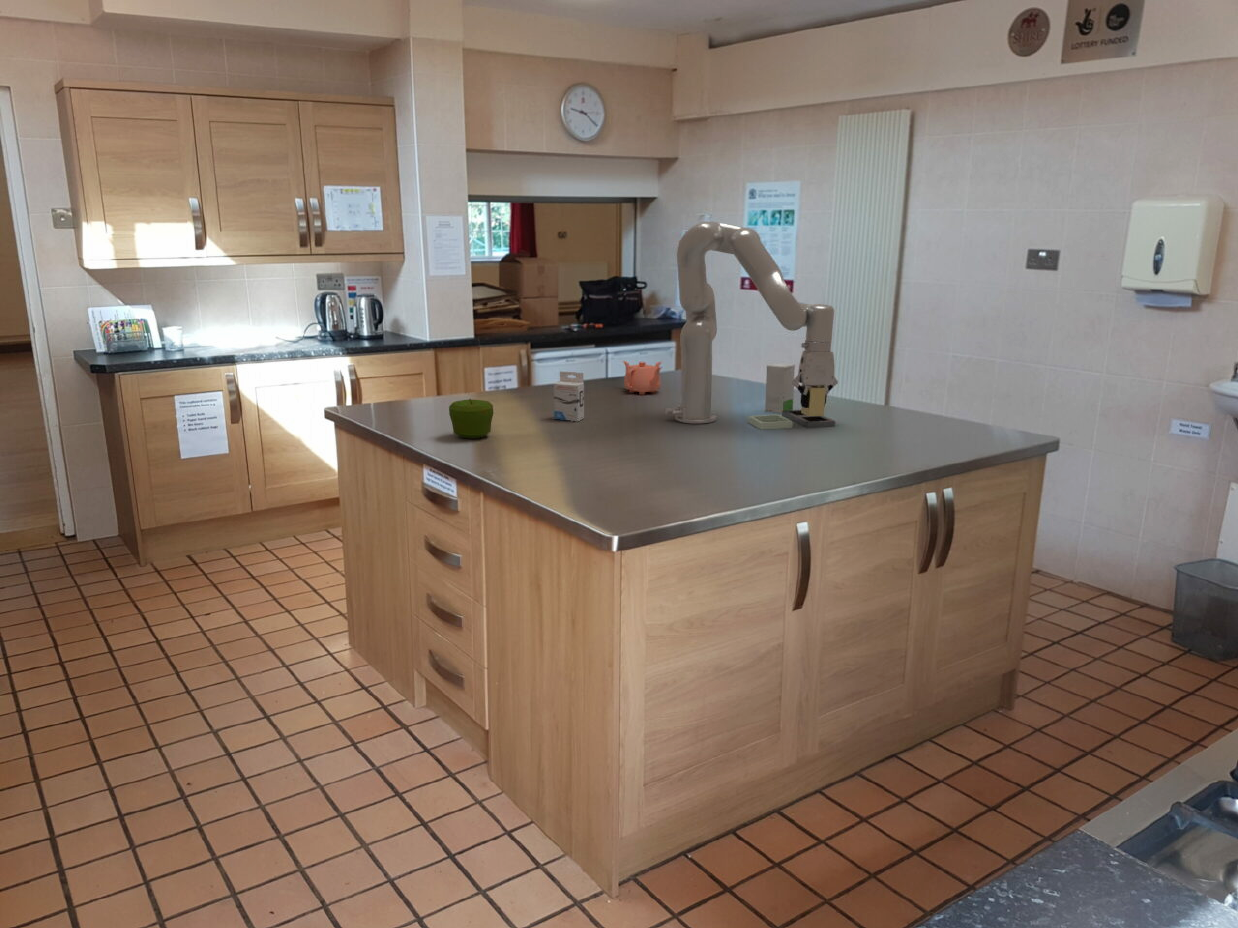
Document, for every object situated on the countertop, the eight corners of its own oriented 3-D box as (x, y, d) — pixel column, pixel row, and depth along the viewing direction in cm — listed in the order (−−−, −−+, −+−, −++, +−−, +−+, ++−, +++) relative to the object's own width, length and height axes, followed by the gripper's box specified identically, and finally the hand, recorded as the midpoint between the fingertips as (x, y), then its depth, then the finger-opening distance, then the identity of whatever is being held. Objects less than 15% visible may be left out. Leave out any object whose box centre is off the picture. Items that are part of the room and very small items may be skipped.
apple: (450, 442, 261) (448, 403, 258) (450, 432, 273) (449, 395, 270) (494, 441, 263) (493, 402, 260) (493, 431, 275) (492, 393, 272)
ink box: (553, 420, 289) (552, 373, 286) (560, 416, 294) (559, 371, 290) (578, 422, 287) (577, 375, 283) (584, 418, 291) (584, 372, 287)
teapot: (622, 388, 341) (622, 358, 338) (661, 388, 340) (661, 359, 338) (621, 396, 327) (621, 365, 324) (662, 396, 326) (662, 365, 324)
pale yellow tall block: (808, 416, 277) (810, 388, 275) (801, 412, 282) (803, 384, 280) (823, 415, 279) (826, 387, 276) (816, 412, 283) (818, 384, 281)
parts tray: (761, 431, 274) (761, 423, 273) (748, 424, 283) (748, 416, 283) (792, 429, 277) (792, 421, 276) (778, 422, 286) (778, 414, 285)
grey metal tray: (807, 430, 276) (807, 422, 275) (781, 417, 293) (782, 410, 292) (834, 428, 278) (835, 421, 277) (808, 415, 295) (808, 409, 294)
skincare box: (781, 415, 295) (783, 367, 291) (763, 412, 299) (765, 365, 295) (793, 411, 302) (796, 363, 298) (775, 408, 306) (777, 361, 302)
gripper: (797, 349, 269) (792, 410, 274) (850, 348, 273) (844, 408, 278) (786, 345, 276) (781, 405, 281) (837, 344, 280) (832, 403, 285)
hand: (812, 406), depth 280 cm, fingers closed on pale yellow tall block, 5 cm apart
